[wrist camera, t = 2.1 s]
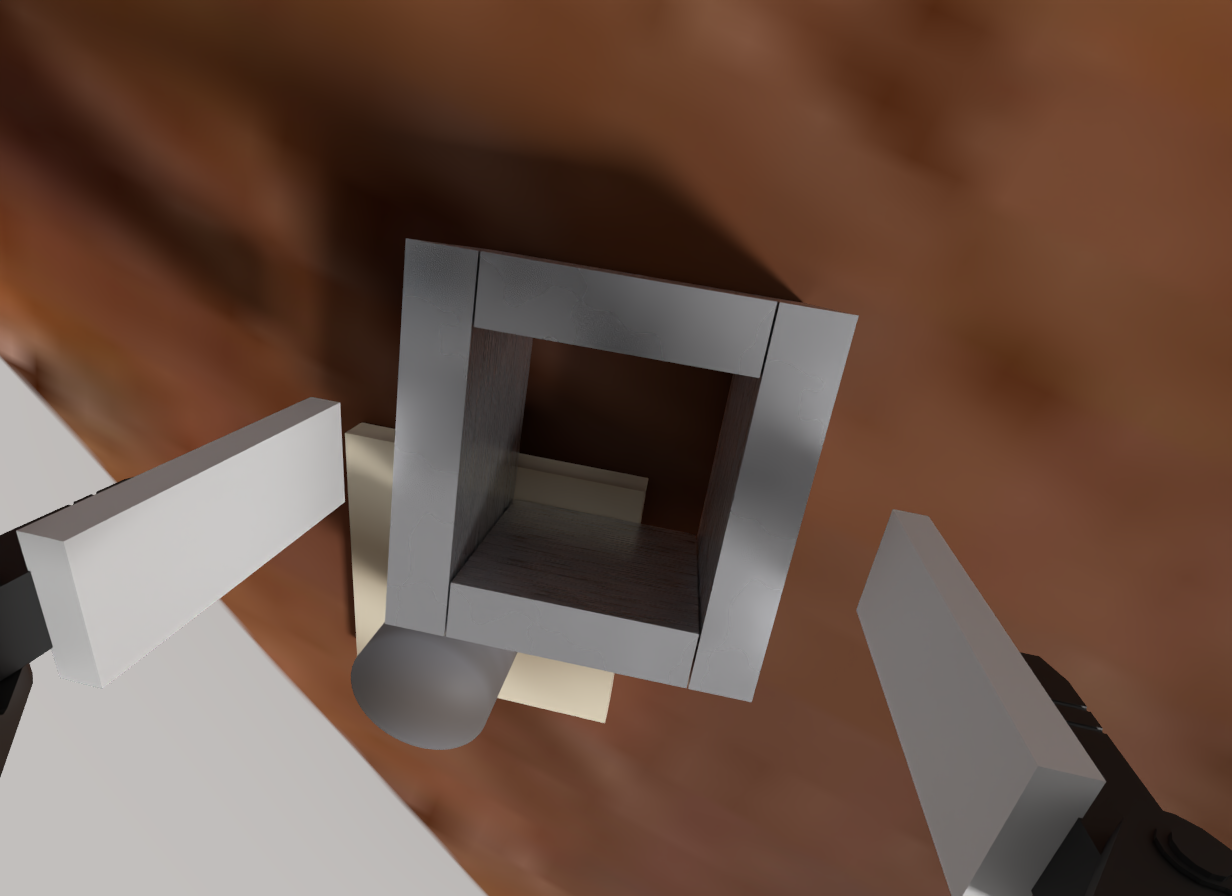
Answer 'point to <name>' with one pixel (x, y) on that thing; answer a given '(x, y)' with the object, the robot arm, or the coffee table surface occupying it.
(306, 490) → the robot arm
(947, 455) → the coffee table surface
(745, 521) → the grey hollow square block
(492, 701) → the cream square tile
